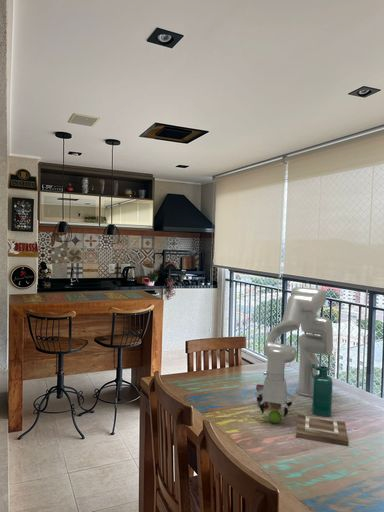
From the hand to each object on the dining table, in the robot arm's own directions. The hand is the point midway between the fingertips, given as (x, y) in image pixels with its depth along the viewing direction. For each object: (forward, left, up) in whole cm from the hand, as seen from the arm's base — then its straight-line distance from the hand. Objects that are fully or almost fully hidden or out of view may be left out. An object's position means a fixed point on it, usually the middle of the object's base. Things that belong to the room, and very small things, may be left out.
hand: (273, 414), depth 171 cm
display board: (+1, +20, -4) cm, 20 cm away
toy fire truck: (-17, -4, -4) cm, 18 cm away
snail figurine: (0, 0, -4) cm, 4 cm away
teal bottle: (-19, +20, -4) cm, 28 cm away
